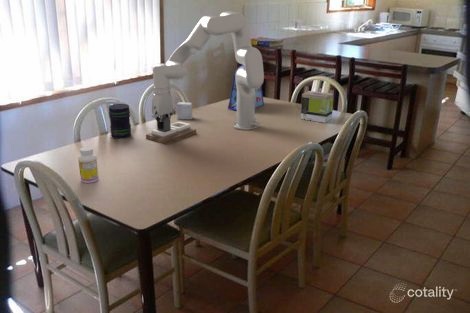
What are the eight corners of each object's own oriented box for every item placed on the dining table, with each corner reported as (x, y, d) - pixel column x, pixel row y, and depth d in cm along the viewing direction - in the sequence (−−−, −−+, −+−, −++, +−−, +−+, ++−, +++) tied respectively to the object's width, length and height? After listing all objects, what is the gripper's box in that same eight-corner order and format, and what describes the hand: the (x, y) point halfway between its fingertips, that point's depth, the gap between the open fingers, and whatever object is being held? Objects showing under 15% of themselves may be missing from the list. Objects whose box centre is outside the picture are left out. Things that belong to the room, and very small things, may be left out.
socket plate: (190, 128, 229) (190, 124, 228) (163, 138, 215) (163, 133, 214) (175, 125, 234) (175, 120, 234) (148, 134, 220) (148, 129, 219)
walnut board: (196, 133, 229) (196, 129, 228) (166, 144, 213) (166, 140, 212) (176, 128, 236) (176, 124, 236) (146, 138, 221) (145, 134, 220)
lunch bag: (246, 112, 265) (247, 63, 255) (227, 109, 272) (227, 61, 262) (264, 105, 282) (266, 58, 272) (246, 102, 289) (246, 56, 279)
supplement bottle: (83, 176, 177) (79, 145, 172) (100, 176, 177) (97, 145, 173) (79, 183, 171) (75, 151, 166) (97, 183, 171) (93, 151, 166)
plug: (170, 131, 220) (170, 115, 217) (164, 133, 217) (164, 116, 214) (163, 130, 223) (162, 113, 220) (157, 132, 220) (156, 115, 217)
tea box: (332, 119, 254) (334, 93, 249) (325, 123, 246) (327, 97, 241) (307, 115, 262) (309, 90, 256) (300, 119, 254) (301, 93, 248)
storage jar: (124, 131, 231) (122, 102, 226) (135, 135, 225) (133, 106, 219) (107, 135, 225) (104, 106, 219) (117, 140, 218) (115, 110, 213)
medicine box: (192, 117, 255) (192, 102, 252) (191, 119, 251) (190, 104, 248) (178, 117, 256) (178, 102, 253) (177, 119, 252) (176, 104, 249)
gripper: (168, 86, 221) (170, 122, 227) (143, 92, 208) (145, 130, 215) (180, 88, 217) (181, 125, 223) (154, 95, 204) (157, 133, 211)
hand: (164, 127), depth 219 cm, fingers closed on plug, 3 cm apart
